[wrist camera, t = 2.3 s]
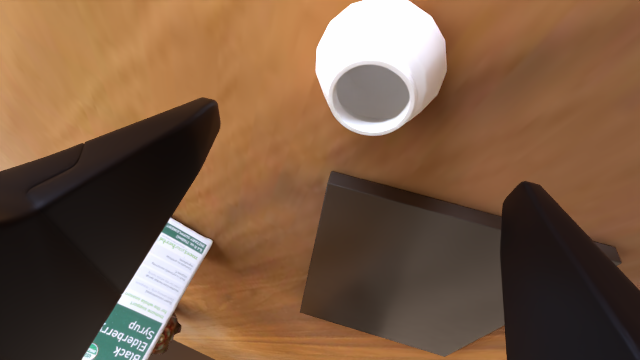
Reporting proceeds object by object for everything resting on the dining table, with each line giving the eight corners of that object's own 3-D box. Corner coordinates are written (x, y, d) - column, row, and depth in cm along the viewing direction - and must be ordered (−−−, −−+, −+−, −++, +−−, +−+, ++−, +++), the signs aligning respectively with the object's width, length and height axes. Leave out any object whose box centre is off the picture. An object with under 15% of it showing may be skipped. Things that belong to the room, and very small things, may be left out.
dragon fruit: (185, 288, 46) (168, 290, 55) (117, 301, 41) (110, 301, 50) (189, 350, 44) (170, 342, 53) (118, 372, 39) (111, 358, 48)
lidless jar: (394, 131, 15) (476, 42, 11) (388, 174, 13) (485, 83, 9) (302, 78, 14) (359, -37, 10) (281, 115, 12) (342, -10, 8)
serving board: (615, 246, 17) (622, 263, 16) (444, 346, 33) (445, 356, 33) (331, 170, 18) (327, 183, 17) (302, 303, 35) (299, 312, 34)
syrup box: (215, 240, 28) (105, 441, 19) (193, 256, 32) (93, 428, 23) (158, 207, 27) (2, 411, 17) (142, 228, 30) (9, 403, 21)
